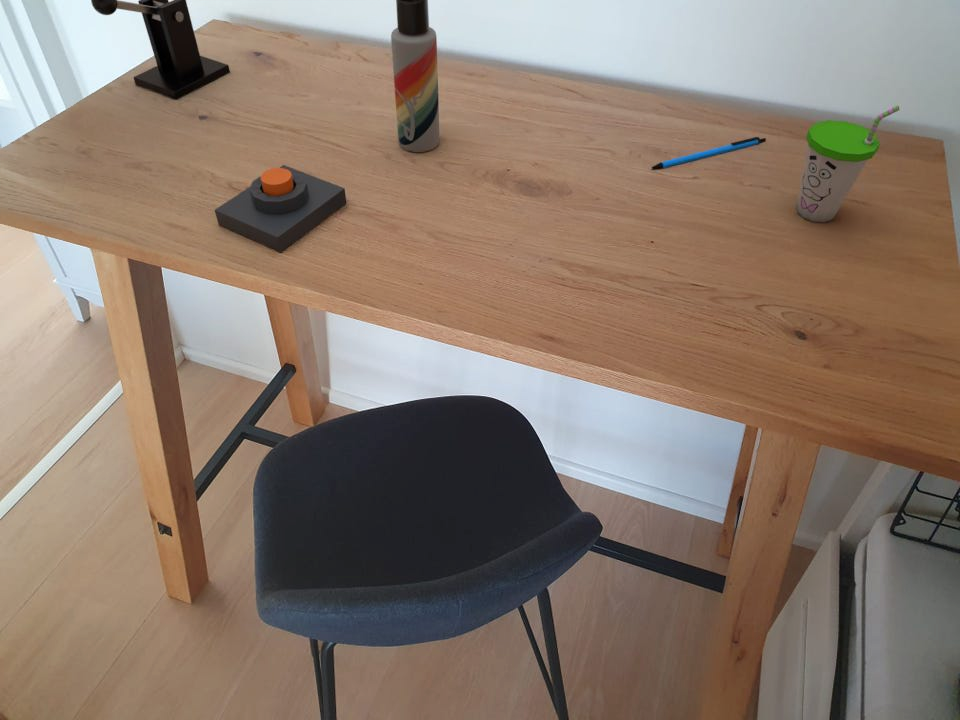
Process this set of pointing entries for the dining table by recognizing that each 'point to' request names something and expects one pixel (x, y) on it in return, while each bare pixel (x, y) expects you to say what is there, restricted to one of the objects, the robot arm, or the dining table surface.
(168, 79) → the switch bracket
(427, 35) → the lotion bottle
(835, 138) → the cup
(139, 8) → the switch
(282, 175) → the button
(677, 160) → the pen
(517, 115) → the dining table surface
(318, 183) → the control block
